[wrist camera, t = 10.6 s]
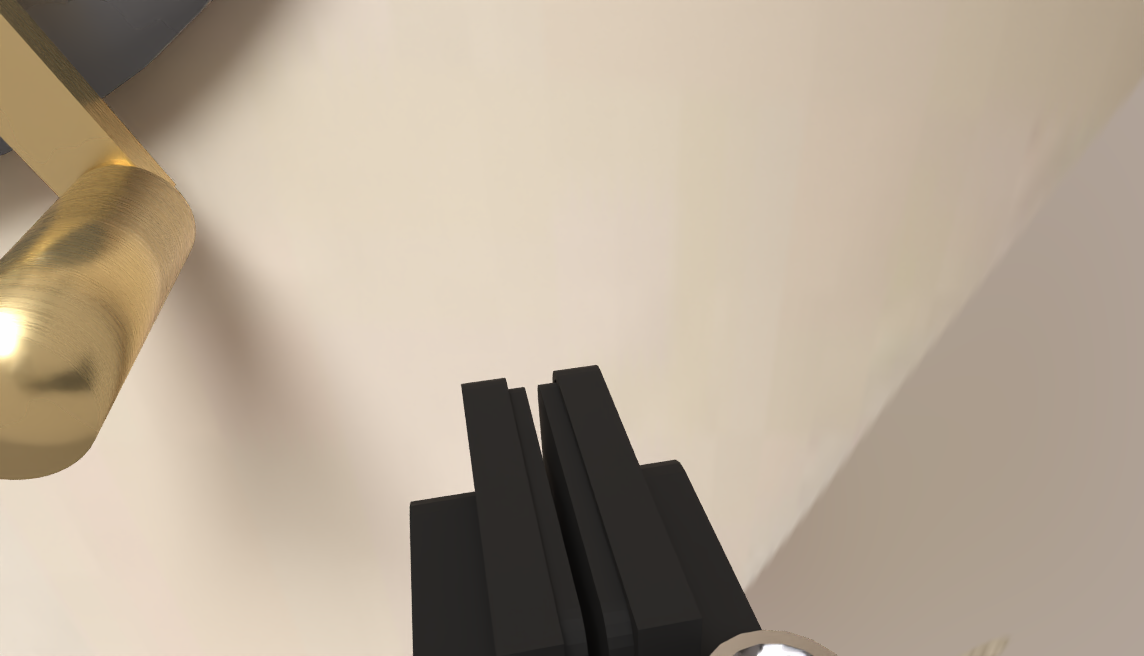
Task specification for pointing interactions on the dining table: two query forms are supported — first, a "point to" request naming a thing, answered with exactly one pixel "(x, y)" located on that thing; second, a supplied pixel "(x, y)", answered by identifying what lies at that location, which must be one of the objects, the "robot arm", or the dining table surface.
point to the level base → (110, 35)
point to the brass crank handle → (75, 256)
